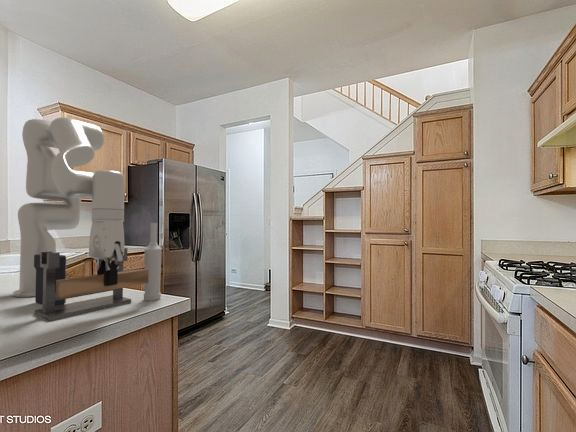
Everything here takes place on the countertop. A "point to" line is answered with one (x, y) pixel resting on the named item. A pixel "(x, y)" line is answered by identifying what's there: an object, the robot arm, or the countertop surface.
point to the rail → (99, 283)
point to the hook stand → (77, 308)
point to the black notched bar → (59, 275)
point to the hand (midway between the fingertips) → (107, 283)
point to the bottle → (153, 266)
